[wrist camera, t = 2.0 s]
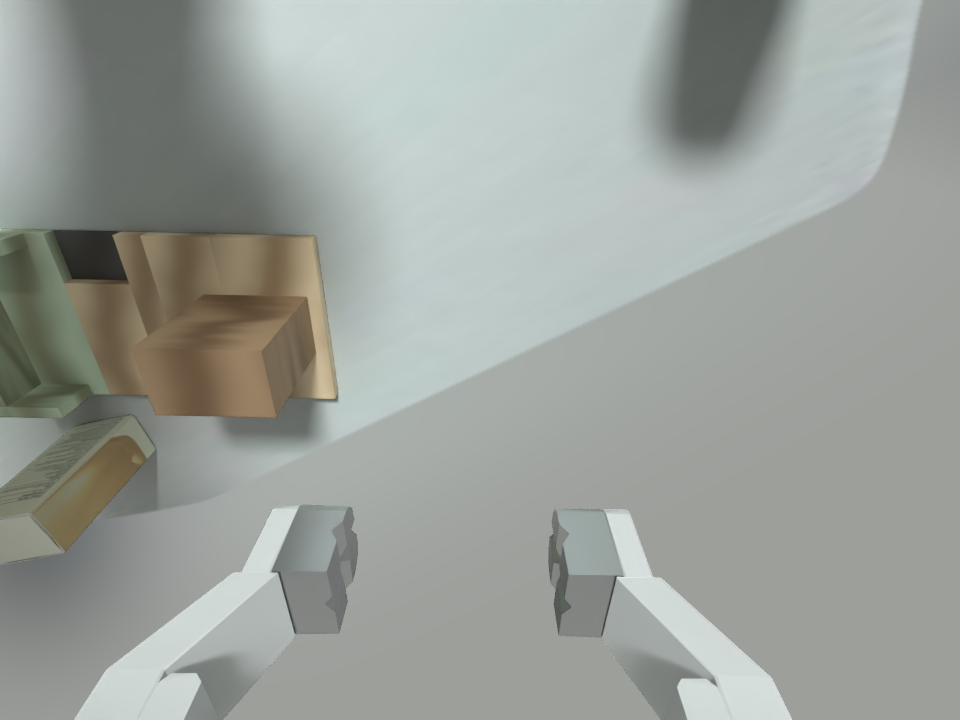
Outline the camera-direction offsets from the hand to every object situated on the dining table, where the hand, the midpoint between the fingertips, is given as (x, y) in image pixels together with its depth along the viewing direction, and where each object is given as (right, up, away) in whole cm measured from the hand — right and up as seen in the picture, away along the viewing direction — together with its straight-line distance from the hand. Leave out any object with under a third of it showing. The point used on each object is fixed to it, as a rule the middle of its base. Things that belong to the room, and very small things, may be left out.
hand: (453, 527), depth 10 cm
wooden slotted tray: (-25, +7, +29) cm, 39 cm away
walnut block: (-17, +6, +29) cm, 34 cm away
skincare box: (-34, -4, +36) cm, 49 cm away
